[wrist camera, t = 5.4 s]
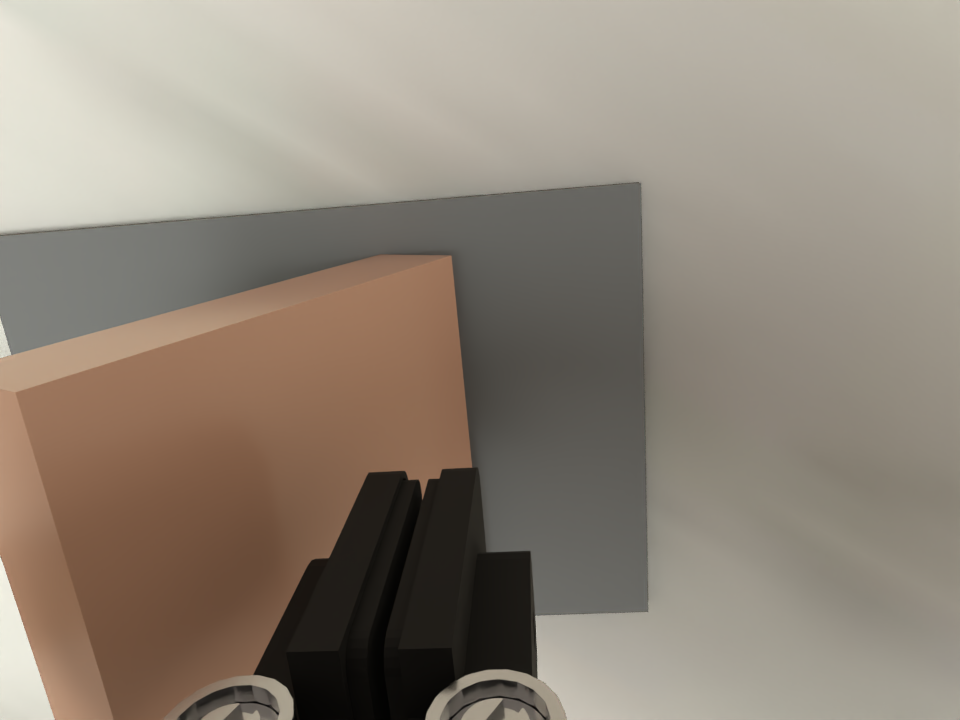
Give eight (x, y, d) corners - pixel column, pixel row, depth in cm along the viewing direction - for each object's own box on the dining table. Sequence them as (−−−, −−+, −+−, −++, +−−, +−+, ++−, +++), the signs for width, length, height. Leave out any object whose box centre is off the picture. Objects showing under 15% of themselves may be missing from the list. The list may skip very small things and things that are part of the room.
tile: (485, 604, 16) (179, 936, 10) (420, 583, 17) (104, 872, 11) (451, 255, 14) (15, 392, 7) (378, 254, 15) (-61, 374, 8)
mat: (645, 603, 17) (647, 611, 17) (99, 622, 18) (93, 629, 18) (638, 182, 14) (640, 183, 14) (-14, 235, 15) (-23, 238, 15)
